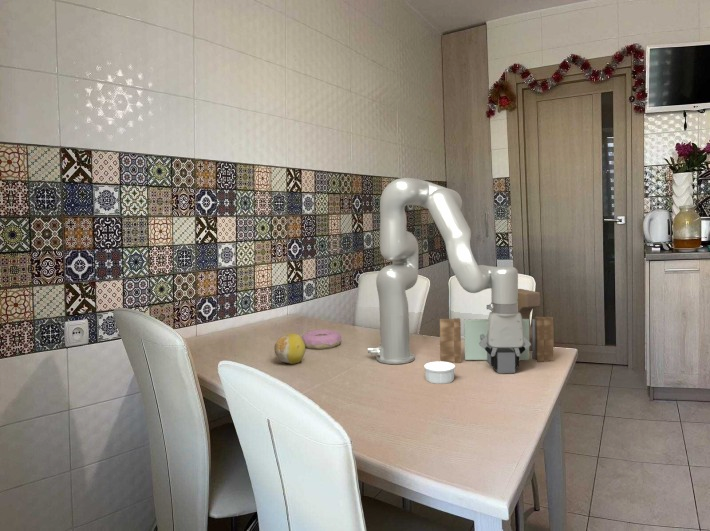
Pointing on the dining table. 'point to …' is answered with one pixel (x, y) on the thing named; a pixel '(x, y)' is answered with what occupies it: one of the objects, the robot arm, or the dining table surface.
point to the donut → (321, 339)
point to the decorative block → (528, 306)
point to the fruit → (290, 348)
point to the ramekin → (439, 372)
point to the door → (476, 332)
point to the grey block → (503, 360)
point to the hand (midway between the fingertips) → (504, 367)
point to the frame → (452, 339)
